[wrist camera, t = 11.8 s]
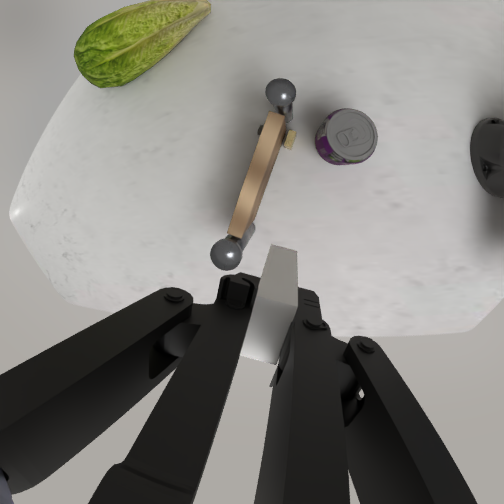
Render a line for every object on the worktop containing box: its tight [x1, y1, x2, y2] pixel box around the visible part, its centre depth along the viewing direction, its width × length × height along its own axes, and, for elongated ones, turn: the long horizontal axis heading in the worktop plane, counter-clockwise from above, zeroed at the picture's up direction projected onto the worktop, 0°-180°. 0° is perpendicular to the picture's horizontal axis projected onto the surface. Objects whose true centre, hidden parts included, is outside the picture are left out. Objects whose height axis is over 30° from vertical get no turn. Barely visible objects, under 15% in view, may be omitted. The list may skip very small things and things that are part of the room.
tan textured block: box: [284, 130, 296, 150], centre depth 38 cm, size 1×2×5 cm, turn 161°
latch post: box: [265, 78, 296, 124], centre depth 33 cm, size 3×3×15 cm
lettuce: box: [74, 0, 211, 88], centre depth 32 cm, size 15×24×14 cm, turn 110°
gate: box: [227, 111, 286, 238], centre depth 36 cm, size 15×3×12 cm, turn 161°
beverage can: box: [315, 109, 378, 165], centre depth 34 cm, size 7×7×12 cm
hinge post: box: [210, 222, 255, 271], centre depth 39 cm, size 4×4×15 cm
